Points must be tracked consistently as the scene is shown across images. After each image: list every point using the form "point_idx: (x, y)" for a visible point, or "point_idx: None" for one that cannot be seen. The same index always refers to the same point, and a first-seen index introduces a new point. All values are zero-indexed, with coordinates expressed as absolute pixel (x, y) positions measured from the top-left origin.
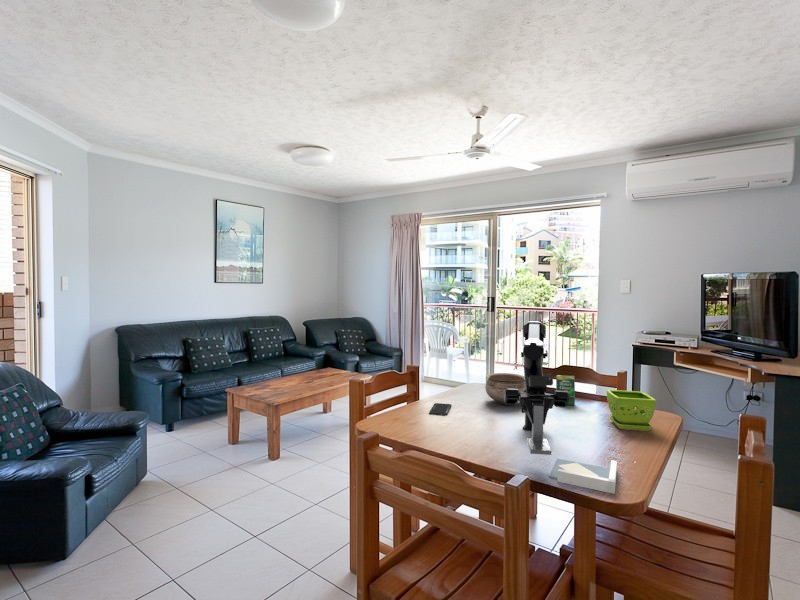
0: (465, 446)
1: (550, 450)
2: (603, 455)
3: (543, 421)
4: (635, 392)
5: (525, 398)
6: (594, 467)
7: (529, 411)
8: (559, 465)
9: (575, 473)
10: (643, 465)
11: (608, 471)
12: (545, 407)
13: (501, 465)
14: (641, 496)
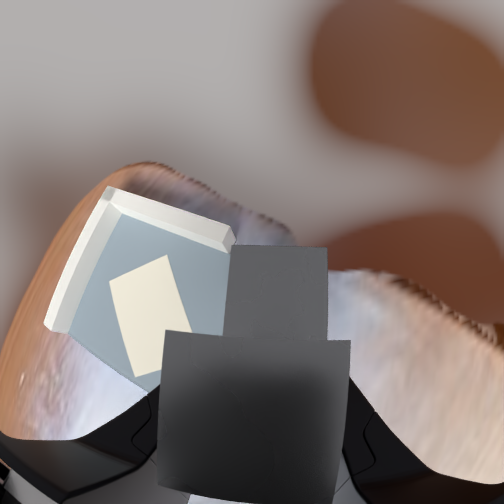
0: (475, 447)
1: (234, 248)
2: (62, 427)
3: None
4: None
5: (482, 498)
6: (99, 342)
7: (363, 408)
8: None
9: (179, 215)
10: (15, 357)
11: (78, 315)
12: (138, 436)
13: (400, 334)
14: (81, 202)
